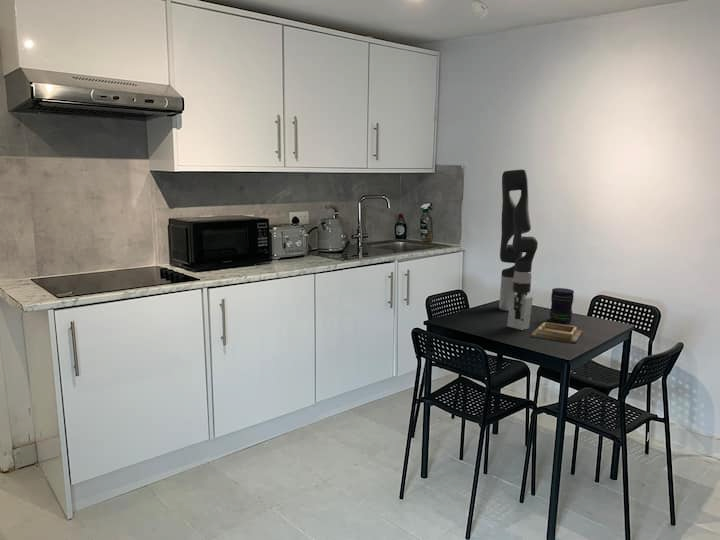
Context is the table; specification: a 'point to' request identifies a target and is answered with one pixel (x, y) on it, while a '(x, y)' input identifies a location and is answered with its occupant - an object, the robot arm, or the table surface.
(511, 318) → the skincare box
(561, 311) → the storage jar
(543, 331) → the plate
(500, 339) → the table surface
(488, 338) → the table surface
